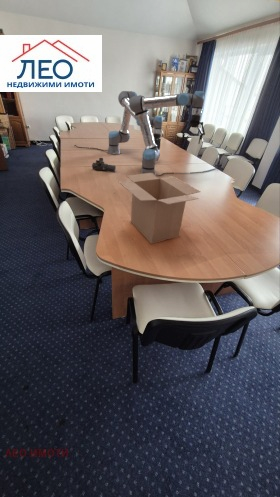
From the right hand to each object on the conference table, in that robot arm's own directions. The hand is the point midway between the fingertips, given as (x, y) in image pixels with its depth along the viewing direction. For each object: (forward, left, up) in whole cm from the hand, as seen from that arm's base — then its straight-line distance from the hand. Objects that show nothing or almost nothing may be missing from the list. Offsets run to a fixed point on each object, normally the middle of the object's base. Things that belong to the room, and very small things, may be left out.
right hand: (190, 142), depth 191 cm
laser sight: (+77, -16, -31) cm, 84 cm away
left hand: (+22, -49, -24) cm, 58 cm away
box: (+44, +92, -31) cm, 106 cm away
